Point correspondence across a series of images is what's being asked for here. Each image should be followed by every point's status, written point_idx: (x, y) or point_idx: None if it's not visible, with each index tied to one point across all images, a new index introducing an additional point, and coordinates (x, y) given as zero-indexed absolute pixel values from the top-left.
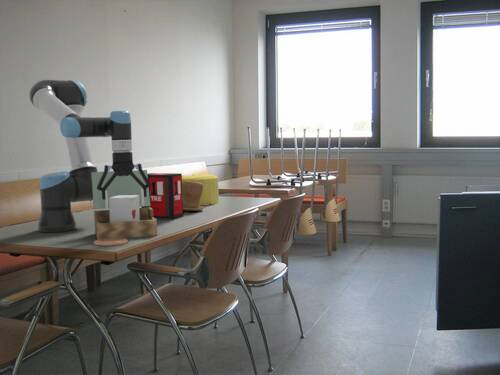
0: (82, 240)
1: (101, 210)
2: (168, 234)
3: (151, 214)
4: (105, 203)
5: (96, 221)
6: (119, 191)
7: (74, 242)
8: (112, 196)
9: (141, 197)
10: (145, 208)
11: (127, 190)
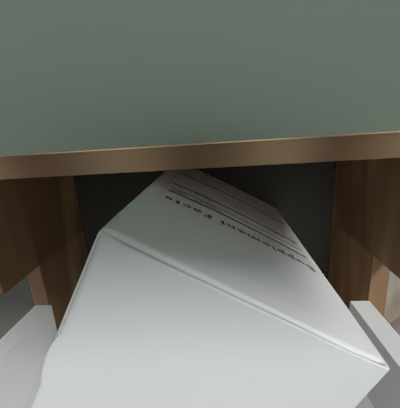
0: (28, 294)
1: (3, 166)
2: (392, 301)
3: (389, 264)
4: (9, 341)
5: (33, 287)
6: (83, 37)
7: (5, 321)
8: (8, 102)
9: (393, 403)
10: (396, 157)
11: (277, 11)
